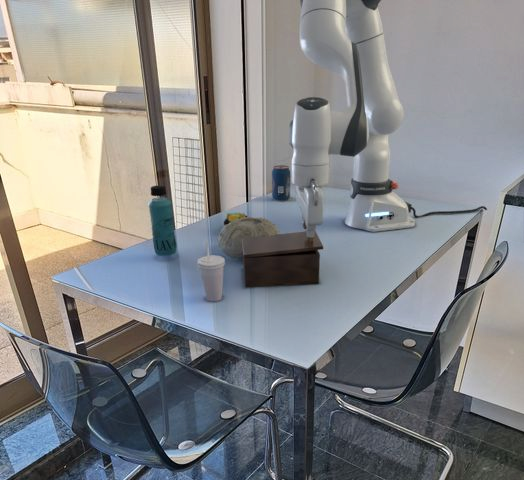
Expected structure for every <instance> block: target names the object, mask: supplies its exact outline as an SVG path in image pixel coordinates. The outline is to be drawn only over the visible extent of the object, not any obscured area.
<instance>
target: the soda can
mask: <svg viewBox="0 0 524 480" xmlns="http://www.w3.org/2000/svg"><path fill="white" fill-rule="evenodd" d="M271 197H272V198H273V200H274V201H277V202H286V201H288V200H289V199H290V197H291V170H290V168H289V165H283V164H280V165H275V166H273V168H272V171H271Z"/></svg>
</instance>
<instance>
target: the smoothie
mask: <svg viewBox="0 0 524 480" xmlns="http://www.w3.org/2000/svg"><path fill="white" fill-rule="evenodd" d="M209 246H210V245H209V241H206V242H205V248H206V249H205V250H206V255H205V256H201V257H200V258H198V259H197V267H198V268H199V271H200V277H201V281H202V284H203V289H204V293H205V298H206V300H207V301H208V302H219V301H220V300H222V299H223V285H224V284H223V283H224V268H225V265H226V261H225V260H226V259H225V258H224V257H223V256H221V255H217V254H211V255H210V247H209Z"/></svg>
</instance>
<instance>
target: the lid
mask: <svg viewBox="0 0 524 480" xmlns="http://www.w3.org/2000/svg"><path fill="white" fill-rule="evenodd" d="M305 225H306V227H307V223H306V221H305ZM242 245H243V254H244V258H248V257H257V256H266V255H276V254H285V253H294V252H303V251H312V250H318V251H320V250H324V245H323V243H322V240H321V239H320V236H319V235H318V233H317V231H316V229H315V230H314V237H310V238H308V237H307V235H306V230H305V231H296V232H287V233H280V234H277V235H268V236H258V237H249V238H242Z"/></svg>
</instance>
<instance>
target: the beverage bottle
mask: <svg viewBox="0 0 524 480" xmlns="http://www.w3.org/2000/svg"><path fill="white" fill-rule="evenodd" d="M150 195H151V196H152V197H153V198H152V199H151V200H150V201H149V202H148V204H147V205H148V210H149V217H150V225H151V228H150V230H151V232H152V233H151V236H152V243H153V250H154V253H155V255H157V256H159V257H168V256H172V255H175V254H176V253H177V248H178V247H177V239H176V234H175V233H176V231H175V222H174V216H173V208H172V207H173V206H172V201H171V200H170V199H169V198H167V197H165V196H166V195H167V190H166V186H165V185H162V184H161V185H157V184H156V185H152V186H150ZM163 196H164V197H163Z"/></svg>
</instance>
